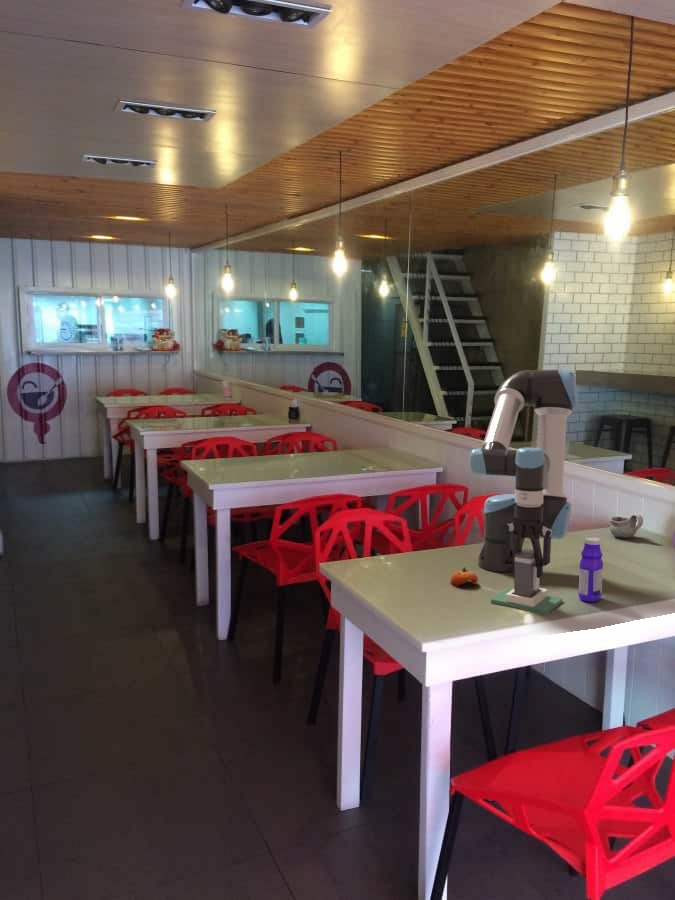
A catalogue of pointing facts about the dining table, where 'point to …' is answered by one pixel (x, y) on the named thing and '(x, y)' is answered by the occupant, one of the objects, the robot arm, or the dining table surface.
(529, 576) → the plug
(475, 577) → the tomato
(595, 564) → the bottle
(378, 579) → the dining table surface
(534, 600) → the header board
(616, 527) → the mug
